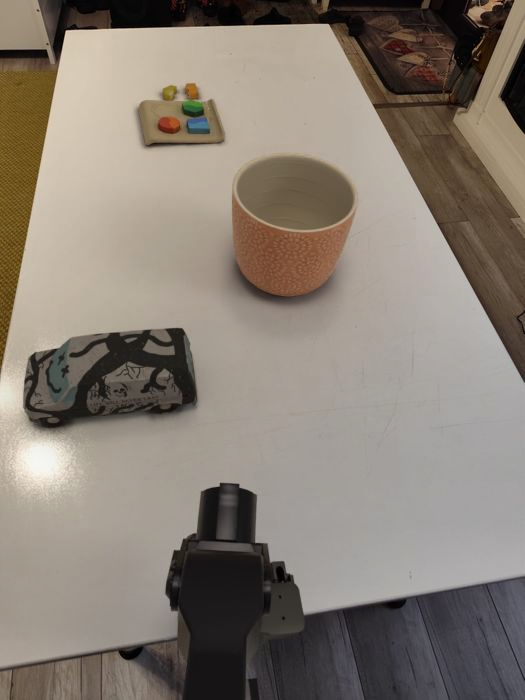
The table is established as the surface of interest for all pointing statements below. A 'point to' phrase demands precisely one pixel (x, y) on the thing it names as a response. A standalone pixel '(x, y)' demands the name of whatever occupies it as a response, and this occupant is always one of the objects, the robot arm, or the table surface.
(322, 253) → the planter
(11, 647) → the table surface
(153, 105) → the shape puzzle
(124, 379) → the toy car
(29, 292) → the table surface
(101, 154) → the table surface
